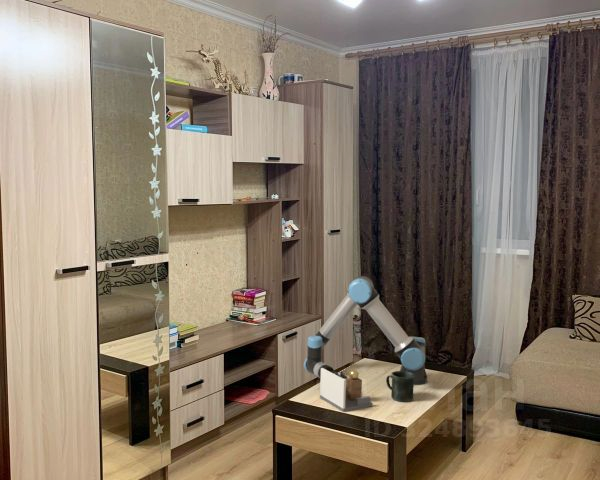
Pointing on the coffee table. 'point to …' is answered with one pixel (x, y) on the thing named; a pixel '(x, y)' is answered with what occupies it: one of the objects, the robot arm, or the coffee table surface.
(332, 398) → the stand
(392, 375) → the mug
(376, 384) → the coffee table surface
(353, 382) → the slider
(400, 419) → the coffee table surface
